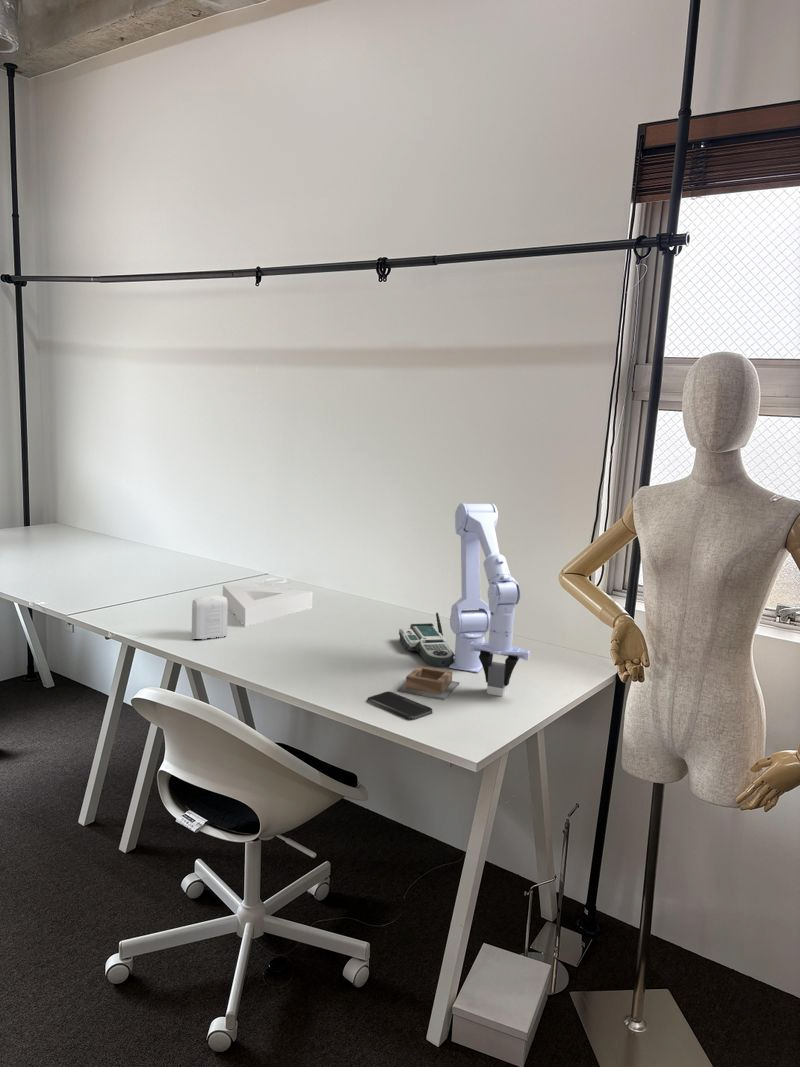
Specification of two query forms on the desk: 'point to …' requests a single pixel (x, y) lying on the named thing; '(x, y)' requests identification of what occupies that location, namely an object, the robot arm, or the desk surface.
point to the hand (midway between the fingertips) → (497, 682)
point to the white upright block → (209, 617)
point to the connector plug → (496, 679)
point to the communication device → (428, 643)
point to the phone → (400, 705)
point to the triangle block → (265, 602)
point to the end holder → (429, 683)
